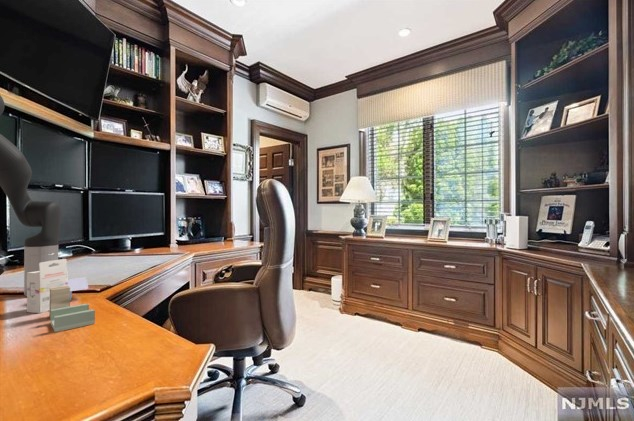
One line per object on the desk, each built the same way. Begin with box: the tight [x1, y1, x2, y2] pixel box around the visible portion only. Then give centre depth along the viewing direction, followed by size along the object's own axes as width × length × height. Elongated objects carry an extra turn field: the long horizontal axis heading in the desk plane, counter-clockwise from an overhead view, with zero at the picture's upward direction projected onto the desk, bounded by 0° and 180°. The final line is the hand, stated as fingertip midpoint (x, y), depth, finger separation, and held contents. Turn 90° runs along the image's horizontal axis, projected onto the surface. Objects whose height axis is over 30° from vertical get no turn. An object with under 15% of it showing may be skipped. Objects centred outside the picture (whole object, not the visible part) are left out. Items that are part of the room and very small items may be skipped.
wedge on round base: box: [68, 276, 89, 301], centre depth 104 cm, size 9×7×13 cm
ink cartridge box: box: [26, 258, 69, 314], centre depth 94 cm, size 9×5×15 cm, turn 168°
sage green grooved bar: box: [49, 302, 96, 333], centre depth 81 cm, size 9×8×4 cm
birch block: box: [48, 285, 71, 317], centre depth 87 cm, size 4×4×8 cm
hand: (0, 272), depth 79 cm, fingers open, 8 cm apart
